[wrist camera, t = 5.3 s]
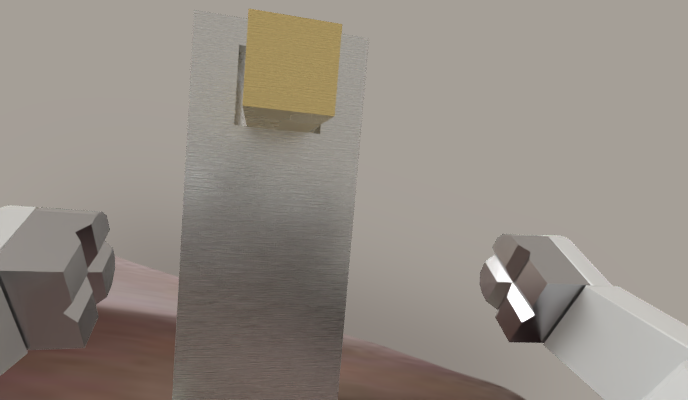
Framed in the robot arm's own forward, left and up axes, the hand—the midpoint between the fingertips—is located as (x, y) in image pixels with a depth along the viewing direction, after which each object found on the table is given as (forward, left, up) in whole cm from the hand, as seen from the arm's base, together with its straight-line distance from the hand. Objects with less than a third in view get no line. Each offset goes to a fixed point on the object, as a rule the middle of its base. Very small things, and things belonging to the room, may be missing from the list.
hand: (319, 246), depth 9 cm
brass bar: (+11, +13, +4) cm, 17 cm away
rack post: (+14, +18, -21) cm, 31 cm away
